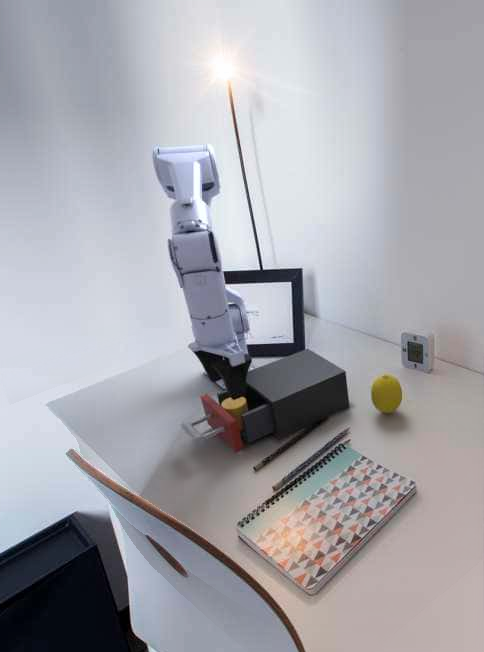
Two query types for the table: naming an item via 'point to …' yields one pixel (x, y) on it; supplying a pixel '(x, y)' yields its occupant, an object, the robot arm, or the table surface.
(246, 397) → the drawer
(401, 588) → the table surface
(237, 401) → the yellow wooden cylinder
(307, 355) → the dark grey box
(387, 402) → the lemon
